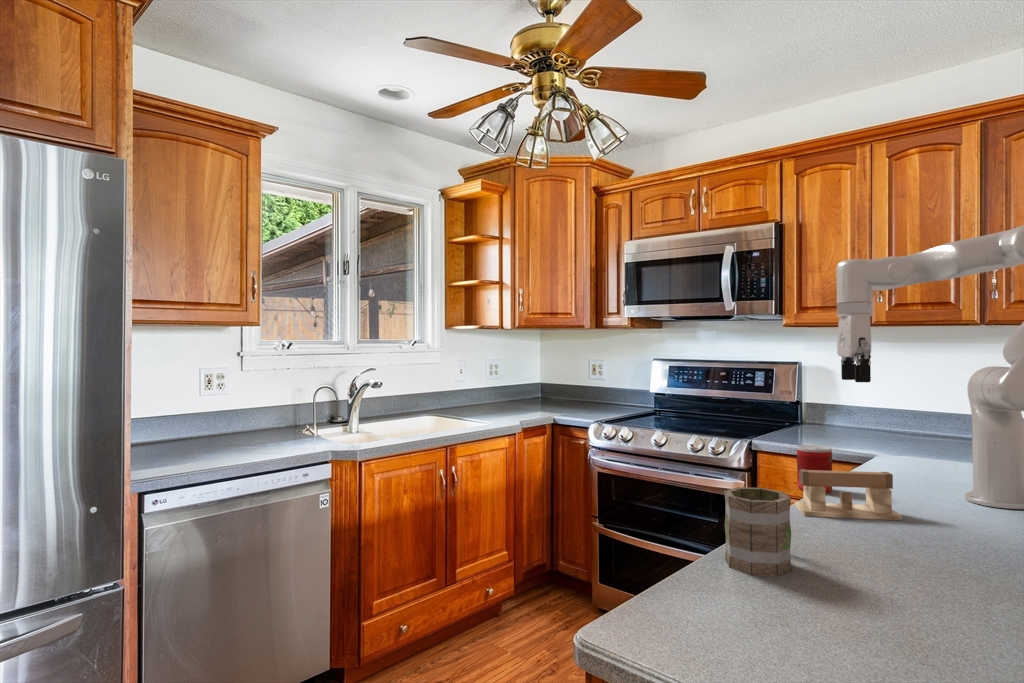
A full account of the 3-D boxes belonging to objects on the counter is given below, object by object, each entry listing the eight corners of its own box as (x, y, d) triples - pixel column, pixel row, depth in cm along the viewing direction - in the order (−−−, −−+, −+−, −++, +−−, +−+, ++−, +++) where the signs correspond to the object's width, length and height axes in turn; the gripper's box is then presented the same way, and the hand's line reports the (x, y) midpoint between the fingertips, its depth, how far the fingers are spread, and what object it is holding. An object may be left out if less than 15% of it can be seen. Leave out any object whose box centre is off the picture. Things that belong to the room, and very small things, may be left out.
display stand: (886, 510, 135) (886, 483, 135) (901, 520, 127) (901, 491, 127) (795, 506, 139) (795, 480, 139) (804, 515, 131) (804, 488, 132)
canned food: (836, 494, 150) (836, 450, 150) (802, 493, 151) (801, 449, 151) (827, 487, 157) (826, 445, 157) (794, 486, 159) (793, 444, 159)
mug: (787, 581, 96) (786, 506, 96) (717, 568, 101) (716, 497, 101) (799, 552, 109) (798, 485, 109) (737, 542, 115) (736, 479, 115)
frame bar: (802, 485, 134) (802, 471, 134) (799, 482, 137) (799, 469, 137) (892, 488, 130) (892, 474, 130) (888, 486, 133) (887, 471, 133)
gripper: (827, 312, 156) (828, 378, 156) (849, 309, 139) (850, 383, 139) (859, 312, 154) (860, 378, 154) (885, 308, 138) (886, 383, 137)
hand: (855, 380), depth 147 cm, fingers open, 9 cm apart
